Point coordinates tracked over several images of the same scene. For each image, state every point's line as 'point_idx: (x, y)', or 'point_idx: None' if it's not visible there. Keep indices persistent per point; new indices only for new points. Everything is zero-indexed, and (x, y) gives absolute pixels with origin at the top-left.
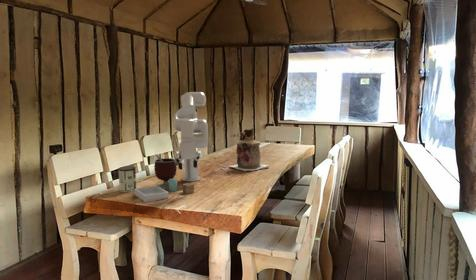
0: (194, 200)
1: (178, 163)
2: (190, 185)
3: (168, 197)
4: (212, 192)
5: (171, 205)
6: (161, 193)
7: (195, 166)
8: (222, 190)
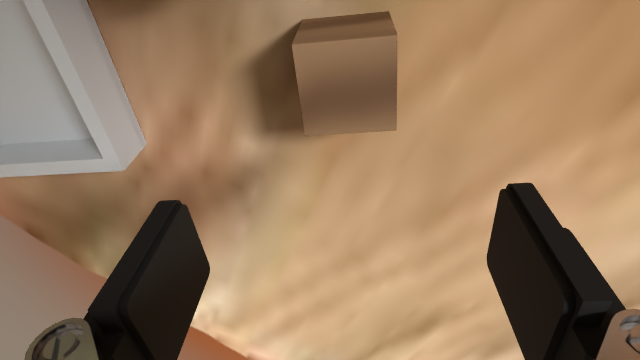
0: (306, 257)
1: (90, 321)
2: (354, 130)
3: (143, 147)
4: (521, 167)
5: None
6: (65, 172)
7: (493, 277)
8: (636, 156)
